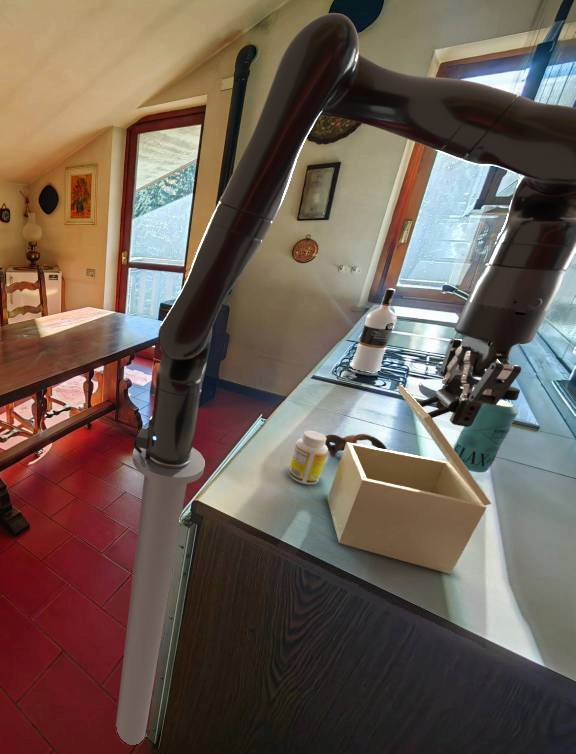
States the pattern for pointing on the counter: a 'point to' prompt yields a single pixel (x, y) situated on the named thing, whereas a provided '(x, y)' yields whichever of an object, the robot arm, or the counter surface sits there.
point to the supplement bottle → (308, 458)
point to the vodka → (375, 337)
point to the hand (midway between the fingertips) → (451, 416)
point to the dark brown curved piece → (341, 442)
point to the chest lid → (426, 419)
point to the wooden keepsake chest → (403, 506)
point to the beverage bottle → (486, 433)
